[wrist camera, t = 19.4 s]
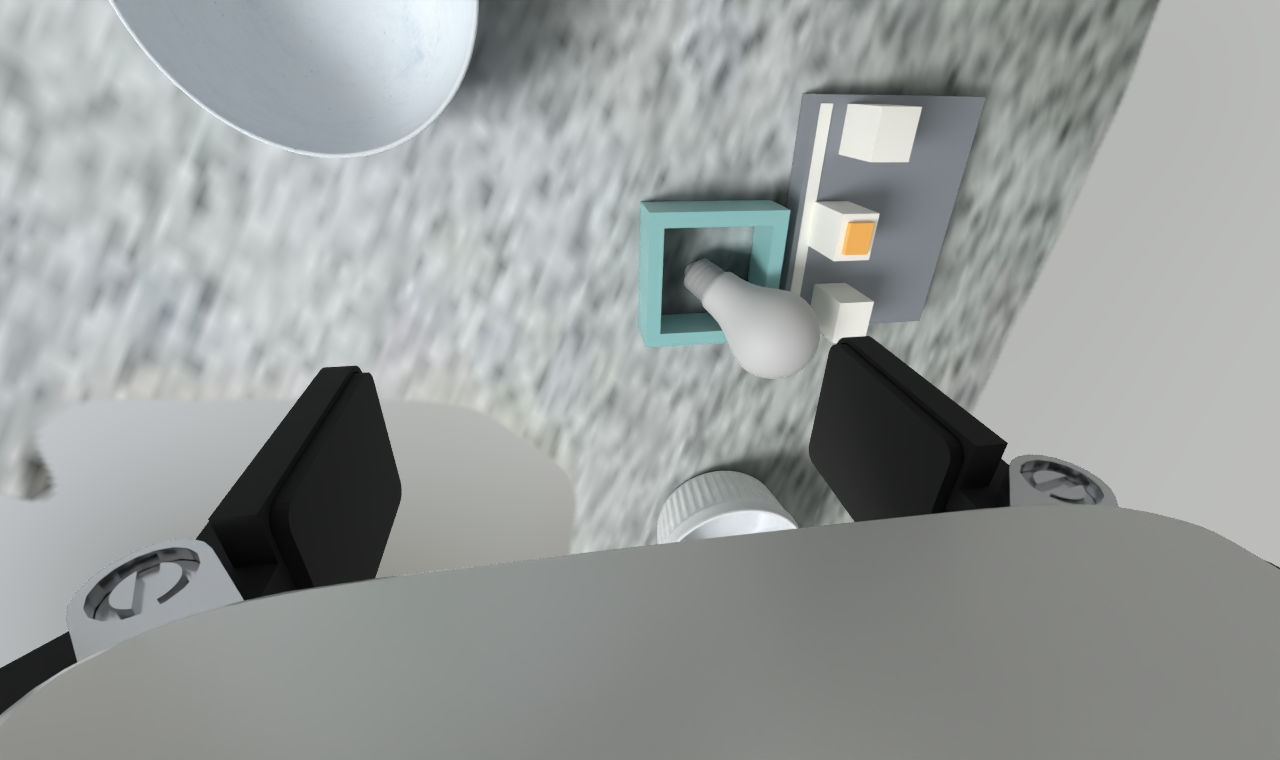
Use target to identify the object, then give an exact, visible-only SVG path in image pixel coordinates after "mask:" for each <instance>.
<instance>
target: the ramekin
mask: <svg viewBox="0 0 1280 760" xmlns="http://www.w3.org/2000/svg"><path fill="white" fill-rule="evenodd" d="M657 525H658V527H657V539H658V544H664V543H673V542H682V541H690V540H699V539H707V538H716V537H725V536H734V535H742V534H751V533H760V532H769V531H778V530H787V529H797V528H799V527H798V525H797V523H796V521H795V520H794V519H793V517H792V516H791V515H790V514H789V513H788V512H787V511H786V510H784V509H783V507H782V506H781V505H780V503H779V502H778V501H777V499H776V498H775V497H774V496H773V494H772V493H771V492H770V491H769V490H768V489H767V487H766V486H765V485H764V484H762V483H761V482H760V481H759V480H757V479H755V478H754V477H752V476H750V475H747V474H745V473H740V472H735V471H714V472H709V473H705V474H701V475H699V476H696V477H694V478H692V479H690V480H688V481H686V482H685V483H683V484H682V485H681V486H679V487H678V488H677V489H676V490H675V491H674V492H673V493H672V494H671V495H670V496H669V498H668V499H667V500H666V502H665V504H664V506H663V507H662V509H661V512H660V514H659V519H658V524H657Z"/></svg>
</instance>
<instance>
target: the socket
mask: <svg viewBox="0 0 1280 760" xmlns="http://www.w3.org/2000/svg"><path fill="white" fill-rule="evenodd" d="M790 211H791V210H789V209H787V208H785V207H783V206H782V205H780V204H778V203H776V202H774V201H772V200H731V201H667V202H641V203H640V264H639V325H638V328H639V331H640V333H641V336H642V338H643V341H644V343H645V346H646V347H663V346H681V345H698V344H715V343H728V342H727V340H726V337H725V334H724V332H723V331H722V329H721V327H720V325H719V324H718V322H717V321H716V320H715V319H714V317H713V316H712V315H711V314H710V313H692V314H672V315H661V302H662V276H663V250H664V228H702V227H744V226H754V233H753V242H752V250H751V258H750V266H749V275H748V282H749V283H751V284H755V285H758V286H761V287H768V288H775V289H779V283H780V276H781V270H782V263H783V257H784V250H785V244H786V237H787V230H788V224H789V217H790Z"/></svg>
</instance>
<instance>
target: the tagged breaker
mask: <svg viewBox="0 0 1280 760" xmlns="http://www.w3.org/2000/svg"><path fill="white" fill-rule="evenodd" d="M879 215H880V213H877V212H875V211H872V210H870V209H867V208H865V207H862V206H859V205H857V204H854V203H852V202H849V201H818V202H814V207H813V213H812V219H811V225H810V230H809V236H808V242H807V245H808V246H810V247H811V248H813V249H814V250H816V251H818V252H819V253H821V254H823V255H824V256H826V257H827V258H829V259H831V260H832V261H857V260H869V257H870V253H871V249H872V245H873V240H874V236H875V232H876V227H877V223H878V219H879Z"/></svg>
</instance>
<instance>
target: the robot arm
mask: <svg viewBox="0 0 1280 760" xmlns="http://www.w3.org/2000/svg"><path fill="white" fill-rule="evenodd" d="M1007 444H1008V443H1007V442H1006V441H1004V440H1003V439H1002V438H1000V437H999V436H998V435H997V434H995V433H994V432H993V431H991V430H990V429H989V428H987V427H986V426H985V425H984V424H982V423H981V422H980V421H979V420H977V419H976V418H975V417H973V416H972V415H971V414H970V413H968V412H967V411H966V410H964V409H963V408H962V407H961V406H959V405H958V404H957V403H955V402H954V401H953V400H951V399H950V398H949V397H948V396H946V395H945V394H944V393H942V392H941V391H940V390H939V389H937V388H936V387H935V386H933V385H932V384H931V383H930V382H928V381H927V380H926V379H924V378H923V377H922V376H921V375H919V374H918V373H917V372H915V371H914V370H913V369H912V368H910V367H909V366H908V365H906V364H905V363H904V362H903V361H901V360H900V359H899V358H897V357H896V356H895V355H894V354H892V353H891V352H890V351H888V350H887V349H886V348H884V347H883V346H882V345H881V344H879V343H878V342H877V341H875V340H874V339H873V338H871V337H869V336H861V337H844V338H841V339H840V340H839V341H838V343H837V345H833V346H832V347H831V348H830V351H829V355H828V359H827V364H826V369H825V374H824V378H823V383H822V388H821V392H820V397H819V402H818V406H817V411H816V416H815V420H814V425H813V430H812V434H811V439H810V444H809V455H810V458H811V461H812V463H813V464H814V465H815V467H816V468H817V470H818V471H819V472H820V474H821V475H822V477H823V478H824V479H825V481H826V482H827V484H828V485H829V486H830V488H831V489H832V491H833V492H834V493H835V495H836V496H837V498H838V499H839V501H840V502H841V503H842V505H843V506H844V508H845V509H846V510H847V512H848V513H849V515H850V516H851V517H852V519H853V520H854V522H852V523H842V524H833V525H824V526H815V527H806V528H797V529H787V530H778V531H769V532H760V533H751V534H742V535H734V536H725V537H716V538H707V539H699V540H690V541H682V542H673V543H664V544H656V545H647V546H639V547H630V548H622V549H613V550H605V551H596V552H588V553H580V554H571V555H563V556H555V557H547V558H539V559H530V560H523V561H514V562H506V563H498V564H490V565H482V566H473V567H465V568H457V569H449V570H441V571H433V572H424V573H416V574H407V575H399V576H391V577H383V578H375V577H376V574H377V571H378V568H379V564H380V562H381V559H382V556H383V553H384V549H385V547H386V544H387V540H388V537H389V534H390V531H391V528H392V525H393V522H394V519H395V516H396V513H397V510H398V507H399V504H400V500H401V482H400V478H399V474H398V471H397V467H396V464H395V459H394V456H393V452H392V448H391V444H390V440H389V437H388V433H387V429H386V426H385V421H384V418H383V414H382V410H381V406H380V403H379V399H378V395H377V391H376V387H375V384H374V380H373V377H372V375H371V374H370V373H362V371H361V370H360V368H359V367H358V366H343V367H326V368H322V369H321V370H320V371H319V373H318V374H317V375H316V377H315V378H314V379H313V381H312V382H311V383H310V385H309V386H308V387H307V389H306V390H305V391H304V393H303V394H302V395H301V397H300V398H299V399H298V401H297V402H296V403H295V405H294V406H293V407H292V409H291V410H290V411H289V413H288V414H287V415H286V417H285V418H284V419H283V421H282V422H281V423H280V425H279V426H278V427H277V429H276V430H275V431H274V433H273V434H272V435H271V437H270V438H269V439H268V441H267V442H266V443H265V445H264V446H263V447H262V449H261V450H260V451H259V452H258V454H257V455H256V456H255V458H254V459H253V461H252V462H251V463H250V465H249V466H248V467H247V469H246V470H245V471H244V472H243V474H242V475H241V476H240V478H239V479H238V480H237V482H236V483H235V484H234V486H233V487H232V488H231V490H230V491H229V492H228V494H227V495H226V496H225V498H224V499H223V500H222V502H221V503H220V505H219V506H218V507H217V508H216V510H215V511H214V512H213V514H212V515H211V516H210V518H209V519H208V520H209V522H208V524H207V525H206V526H205V528H204V529H203V530H202V532H201V533H200V534H199V536H198V537H197V538H196V540H194V539H175V540H169V541H166V542H161V543H156V544H152V545H150V546H147V547H144V548H142V549H139V550H137V551H134V552H132V553H130V554H128V555H126V556H124V557H122V558H120V559H118V560H116V561H114V562H113V563H111V564H109V565H108V566H106V567H105V568H103V569H102V570H101V571H99V572H98V573H96V574H95V575H94V576H92V577H91V578H90V579H89V580H88V581H87V582H86V583H85V584H84V585H83V586H82V587H81V588H80V589H79V590H78V591H77V592H76V593H75V595H74V596H73V598H72V600H71V601H70V603H69V605H68V606H67V615H66V621H67V625H68V629H69V631H68V632H67V633H65V634H63V635H61V636H59V637H57V638H56V639H54V640H52V641H50V642H48V643H46V644H44V645H43V646H41V647H39V648H37V649H35V650H33V651H31V652H30V653H28V654H26V655H24V656H22V657H20V658H19V659H17V660H15V661H13V662H11V663H9V664H7V665H6V666H4V667H2V668H0V760H1280V568H1279V567H1277V566H1275V565H1274V564H1272V563H1269V562H1267V561H1265V560H1263V559H1261V558H1259V557H1258V556H1256V555H1254V554H1253V553H1251V552H1249V551H1247V550H1246V549H1244V548H1242V547H1240V546H1239V545H1237V544H1236V543H1234V542H1232V541H1230V540H1228V539H1226V538H1225V537H1223V536H1221V535H1219V534H1217V533H1215V532H1213V531H1210V530H1208V529H1206V528H1204V527H1201V526H1198V525H1195V524H1192V523H1188V522H1185V521H1182V520H1178V519H1174V518H1170V517H1166V516H1162V515H1158V514H1154V513H1149V512H1143V511H1138V510H1132V509H1126V508H1120V507H1118V504H1117V500H1116V497H1115V496H1114V494H1113V492H1112V490H1111V489H1110V488H1109V487H1108V486H1107V485H1106V484H1105V483H1104V482H1103V481H1102V480H1101V479H1099V478H1098V477H1096V476H1095V475H1093V474H1091V473H1090V472H1088V471H1087V470H1085V469H1083V468H1081V467H1079V466H1076V465H1074V464H1072V463H1069V462H1066V461H1063V460H1060V459H1057V458H1053V457H1048V456H1043V455H1024V456H1018V457H1016V458H1015V459H1013V460H1012V461H1011V463H1010V465H1008V464H1007V463H1006V462H1005V461H1003V460H1002V459H1001V458H1002V455H1003V453H1004V450H1005V448H1006V446H1007Z"/></svg>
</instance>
